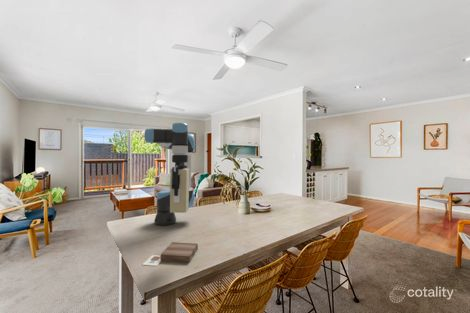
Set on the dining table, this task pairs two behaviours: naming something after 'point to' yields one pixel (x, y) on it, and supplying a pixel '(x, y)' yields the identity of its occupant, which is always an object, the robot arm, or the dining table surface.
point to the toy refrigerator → (184, 192)
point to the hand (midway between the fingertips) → (179, 200)
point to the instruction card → (152, 260)
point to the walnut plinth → (179, 252)
